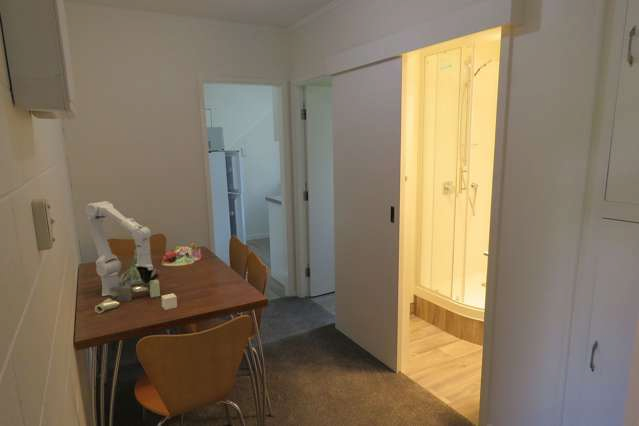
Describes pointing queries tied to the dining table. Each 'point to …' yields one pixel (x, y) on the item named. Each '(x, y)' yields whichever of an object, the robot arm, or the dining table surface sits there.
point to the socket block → (154, 288)
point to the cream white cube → (169, 301)
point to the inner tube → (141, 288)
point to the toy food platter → (182, 256)
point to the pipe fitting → (106, 305)
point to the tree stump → (133, 274)
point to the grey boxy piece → (121, 293)
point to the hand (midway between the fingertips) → (146, 281)
